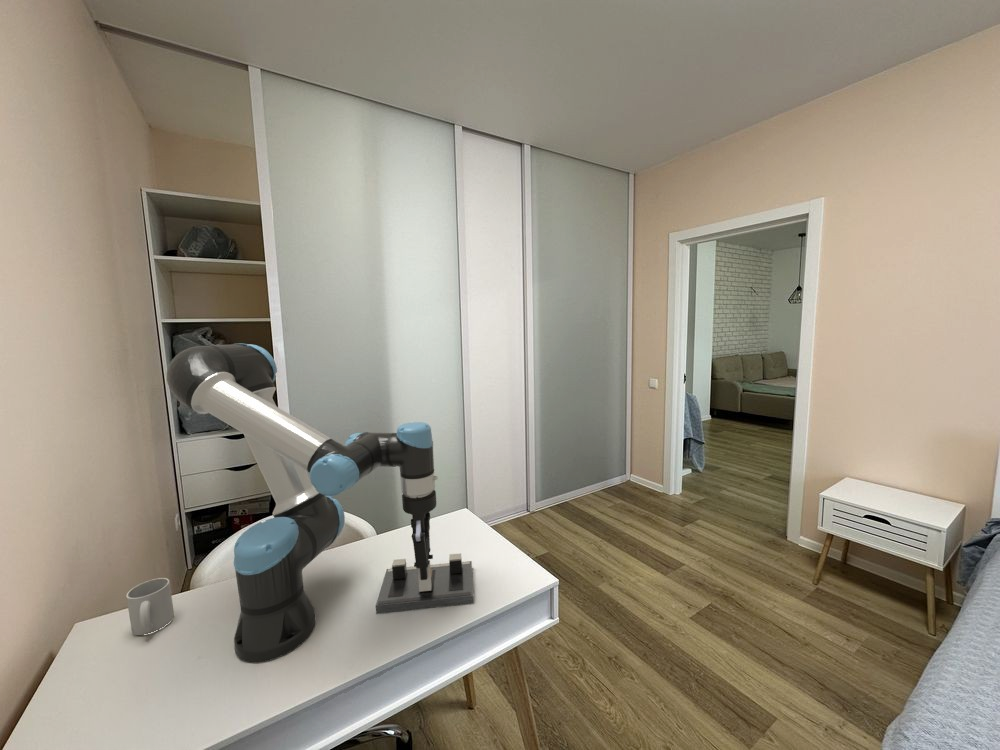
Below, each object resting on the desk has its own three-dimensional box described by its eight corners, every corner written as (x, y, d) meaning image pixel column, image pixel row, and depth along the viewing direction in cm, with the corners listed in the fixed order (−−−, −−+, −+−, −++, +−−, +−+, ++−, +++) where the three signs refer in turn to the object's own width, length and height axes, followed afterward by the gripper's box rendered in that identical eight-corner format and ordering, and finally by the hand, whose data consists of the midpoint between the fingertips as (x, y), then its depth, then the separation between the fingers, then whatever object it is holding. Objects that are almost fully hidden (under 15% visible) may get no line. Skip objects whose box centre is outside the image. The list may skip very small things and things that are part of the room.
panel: (376, 614, 90) (374, 589, 89) (387, 576, 104) (385, 554, 103) (473, 603, 92) (472, 579, 92) (471, 568, 106) (470, 546, 105)
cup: (177, 609, 95) (172, 574, 94) (169, 636, 86) (163, 597, 85) (136, 622, 91) (131, 585, 90) (124, 651, 82) (118, 611, 81)
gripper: (433, 502, 84) (440, 606, 87) (437, 479, 97) (443, 570, 100) (397, 505, 83) (404, 610, 86) (406, 481, 96) (412, 573, 99)
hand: (425, 588), depth 93 cm, fingers closed
